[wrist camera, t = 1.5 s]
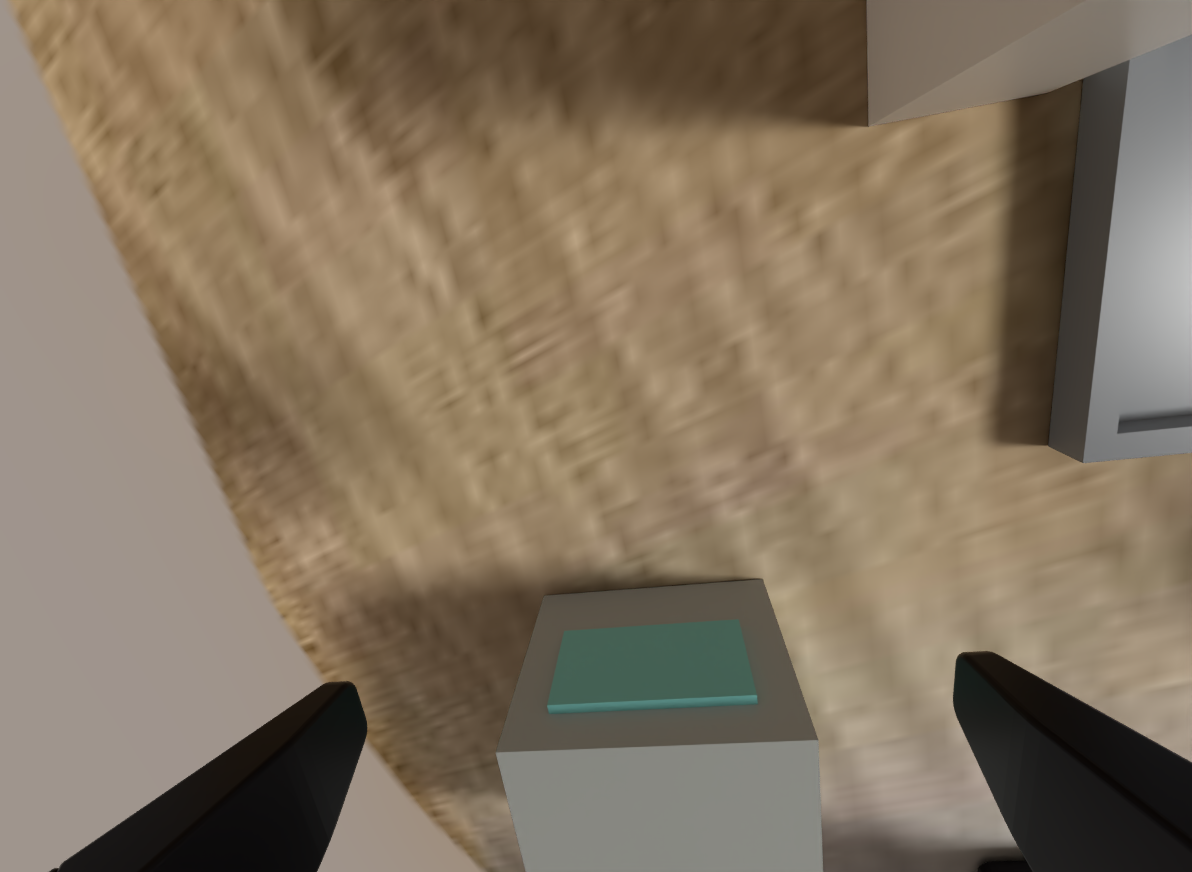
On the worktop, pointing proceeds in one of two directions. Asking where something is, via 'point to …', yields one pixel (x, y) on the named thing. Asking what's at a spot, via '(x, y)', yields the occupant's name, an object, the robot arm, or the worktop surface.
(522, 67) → the worktop surface
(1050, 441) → the tray
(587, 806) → the unit
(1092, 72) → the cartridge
